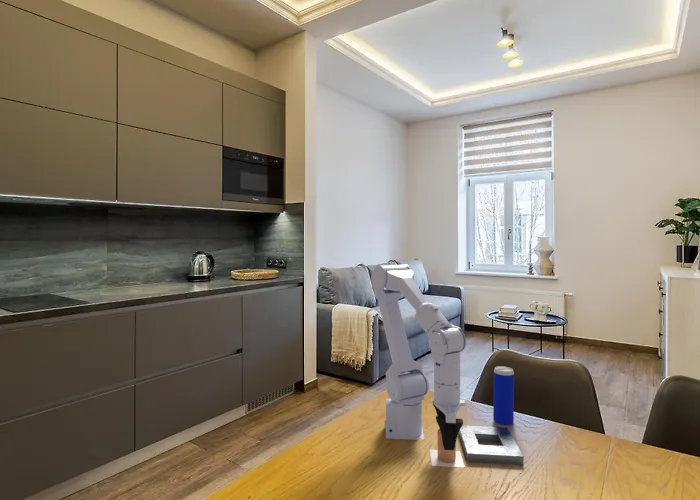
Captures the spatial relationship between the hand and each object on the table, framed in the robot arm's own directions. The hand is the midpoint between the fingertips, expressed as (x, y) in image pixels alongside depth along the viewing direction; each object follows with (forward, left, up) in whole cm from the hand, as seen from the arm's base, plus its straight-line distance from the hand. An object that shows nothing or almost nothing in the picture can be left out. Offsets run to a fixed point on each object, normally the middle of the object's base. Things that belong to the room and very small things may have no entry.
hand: (446, 440), depth 95 cm
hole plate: (+10, +6, -5) cm, 13 cm away
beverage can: (+17, +21, -5) cm, 28 cm away
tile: (0, 0, -5) cm, 5 cm away
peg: (0, 0, -4) cm, 4 cm away
